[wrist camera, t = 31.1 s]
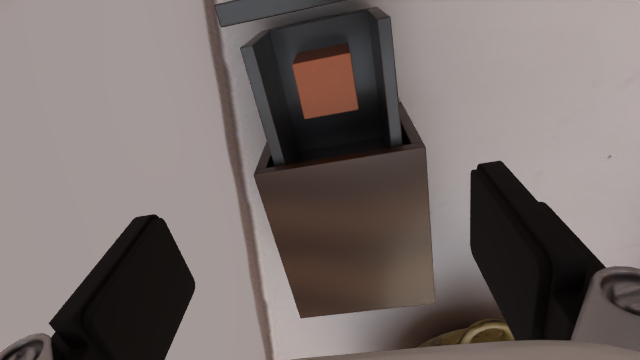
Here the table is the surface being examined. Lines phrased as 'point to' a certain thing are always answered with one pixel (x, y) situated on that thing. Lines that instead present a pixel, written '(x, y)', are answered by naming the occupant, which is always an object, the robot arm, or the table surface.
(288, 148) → the drawer
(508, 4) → the table surface
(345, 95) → the block
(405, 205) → the cabinet
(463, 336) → the ceramic bowl
